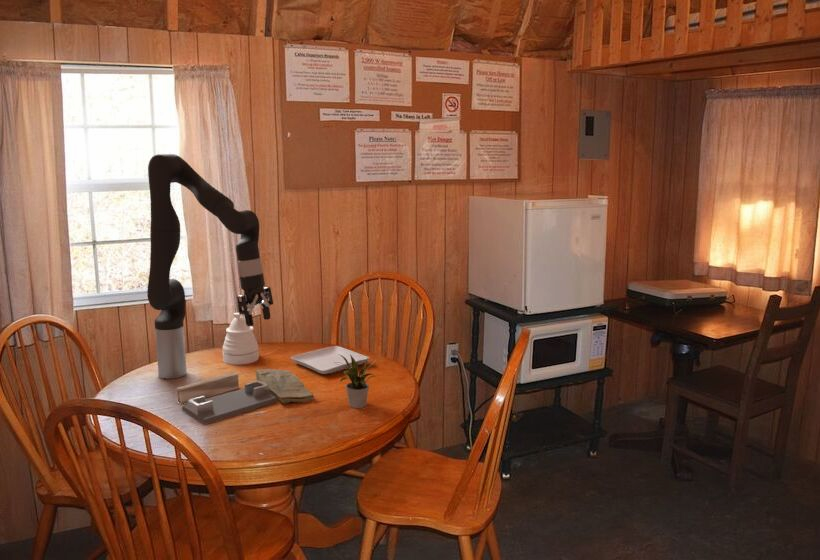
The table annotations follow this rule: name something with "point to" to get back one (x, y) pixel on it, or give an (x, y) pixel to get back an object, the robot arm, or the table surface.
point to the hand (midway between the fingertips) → (258, 322)
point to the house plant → (356, 384)
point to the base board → (231, 405)
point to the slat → (208, 387)
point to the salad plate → (328, 359)
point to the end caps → (202, 407)
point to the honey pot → (240, 343)
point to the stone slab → (284, 385)
